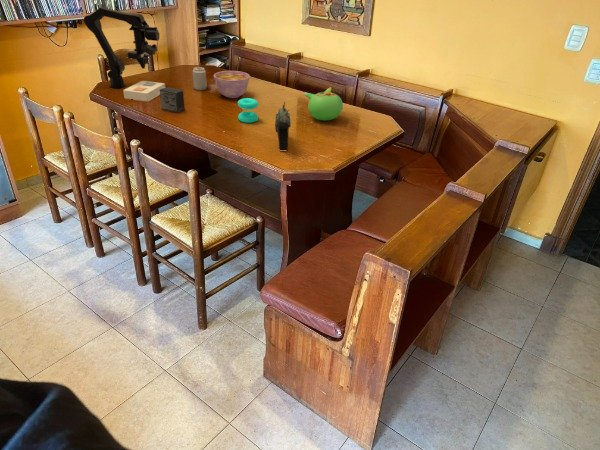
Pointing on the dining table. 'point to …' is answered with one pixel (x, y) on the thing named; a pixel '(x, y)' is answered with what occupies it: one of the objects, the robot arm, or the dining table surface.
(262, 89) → the dining table surface
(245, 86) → the bowl of food
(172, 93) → the small box
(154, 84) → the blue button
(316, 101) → the green rounded body
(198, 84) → the can
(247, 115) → the donuts
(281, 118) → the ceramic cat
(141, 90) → the orange button
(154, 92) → the console
